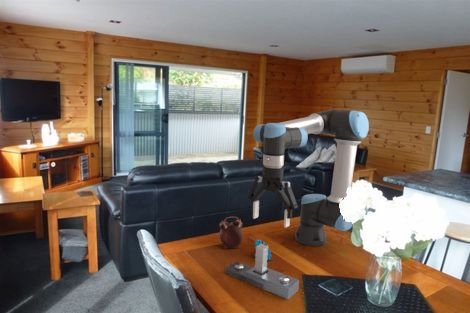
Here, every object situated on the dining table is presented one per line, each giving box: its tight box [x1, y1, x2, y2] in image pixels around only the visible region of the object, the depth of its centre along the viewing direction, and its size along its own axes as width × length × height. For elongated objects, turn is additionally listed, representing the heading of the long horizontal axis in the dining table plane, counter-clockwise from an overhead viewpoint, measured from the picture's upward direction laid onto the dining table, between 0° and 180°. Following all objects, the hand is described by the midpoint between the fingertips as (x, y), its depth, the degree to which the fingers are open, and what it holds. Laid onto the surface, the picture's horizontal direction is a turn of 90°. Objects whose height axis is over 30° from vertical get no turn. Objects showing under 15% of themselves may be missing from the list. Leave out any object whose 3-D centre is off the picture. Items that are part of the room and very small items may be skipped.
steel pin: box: [254, 244, 269, 276], centre depth 130 cm, size 3×3×14 cm
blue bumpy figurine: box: [253, 239, 272, 261], centre depth 151 cm, size 11×6×10 cm
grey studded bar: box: [224, 260, 300, 300], centre depth 131 cm, size 8×28×5 cm, turn 53°
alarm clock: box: [218, 215, 244, 249], centre depth 159 cm, size 11×5×15 cm, turn 105°
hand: (270, 221), depth 129 cm, fingers open, 13 cm apart
